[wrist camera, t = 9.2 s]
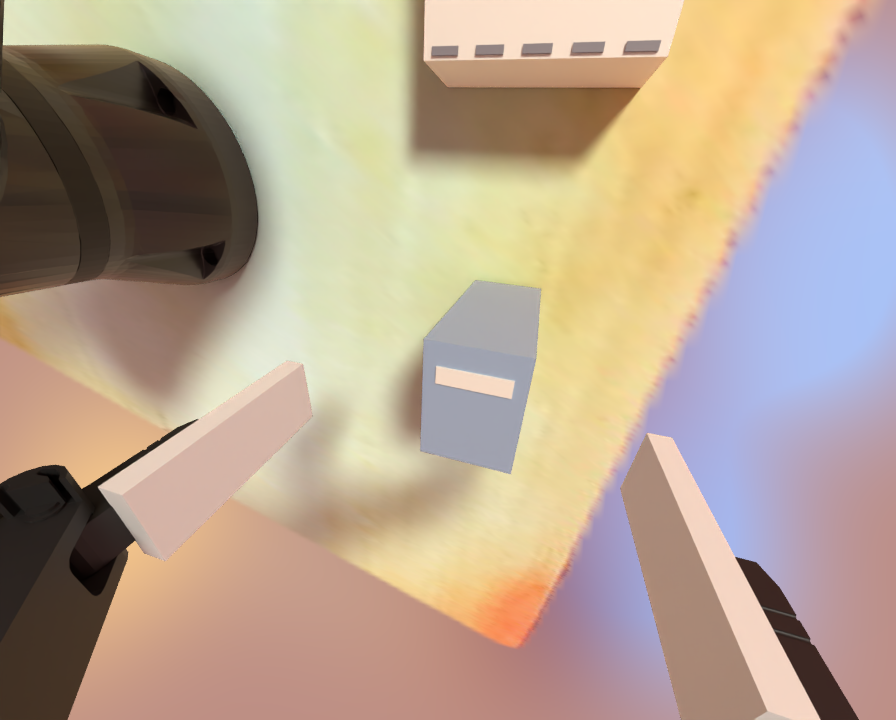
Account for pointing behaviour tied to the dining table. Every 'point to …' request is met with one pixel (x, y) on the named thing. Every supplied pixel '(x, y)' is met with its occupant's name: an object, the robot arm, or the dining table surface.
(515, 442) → the stub
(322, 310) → the dining table surface
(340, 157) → the dining table surface
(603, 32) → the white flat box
